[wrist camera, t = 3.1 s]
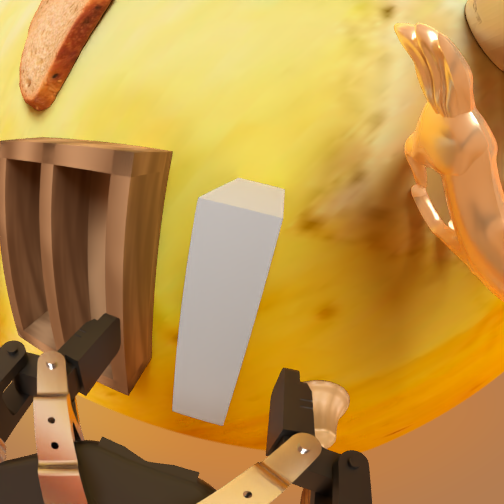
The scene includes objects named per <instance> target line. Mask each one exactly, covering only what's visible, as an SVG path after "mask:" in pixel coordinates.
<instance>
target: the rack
mask: <svg viewBox="0 0 504 504" xmlns="http://www.w3.org/2000/svg"><path fill="white" fill-rule="evenodd" d="M171 157H172V151H166V150H160V149H154V148H147V147H140V146H132V145H125V144H117V143H108V142H98V141H88V140H77V139H63V138H46V137H41V138H26V139H15V140H5V141H0V246H1V254H2V262H3V268H4V275H5V280H6V286H7V291H8V296H9V300H10V305H11V309H12V313H13V317H14V321H15V324H16V328H17V331H18V335H19V336H20V337H21V338H23V339H24V340H26V341H27V342H29V343H30V344H32V345H33V346H35V347H36V348H38V349H40V350H41V351H43V352H44V353H45V352H47V351H56V352H57V351H58V350H59V349H60V348H61V347H62V346H63V345H64V344H65V343H66V342H67V341H68V340H69V339H70V337H71V336H72V335H74V334H75V333H76V332H77V331H78V330H79V329H80V328H81V327H82V326H83V325H84V324H85V323H86V322H88V321H90V320H93V319H96V320H98V319H99V318H100V317H101V316H102V315H103V314H105V313H107V314H110V315H112V316H115V317H117V318H119V319H120V329H121V345H120V349H119V351H118V353H117V354H116V356H115V357H114V358H113V360H112V361H111V362H110V364H109V365H108V366H107V368H106V369H105V371H104V372H103V373H102V375H101V376H100V377H99V379H98V380H97V382H99V383H101V384H104V385H106V386H108V387H110V388H112V389H114V390H117V391H119V392H121V393H123V394H126V395H128V396H129V394H130V392H131V391H132V389H133V387H134V386H135V384H136V382H137V381H138V379H139V378H140V376H141V374H142V373H143V371H144V369H145V368H146V366H147V364H148V363H149V361H150V360H151V358H152V323H153V303H154V288H155V276H156V264H157V254H158V245H159V236H160V228H161V220H162V213H163V206H164V199H165V192H166V186H167V180H168V174H169V168H170V163H171Z"/></svg>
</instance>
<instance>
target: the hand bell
mask: <svg viewBox="0 0 504 504" xmlns="http://www.w3.org/2000/svg"><path fill="white" fill-rule="evenodd" d="M303 383H307V384H308V385H309V387H310V389H311V391H312V398H313V401H312V402H313V412H314V428H315V437H316V438H317V439H318V440H319V442H320V444H321V446H322V447H324V448H325V449H327V448H329V447H330V446H332V445H333V444H334V442H335V440H336V429H337V423H338V420H339V419H340V418H341V417H342V416H343V414H344V413H345V412H346V410H347V408H348V406H349V402H350V400H349V395H348V393H347V391H346V390H345V389H344V388H343V387H341V386H340V385H338V384H335V383H332V382H329V381H323V380H313V381H306V382H303ZM310 495H311V490H308V489H306V488H304V489H303V491H302V496H301V502H300V504H310Z"/></svg>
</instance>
